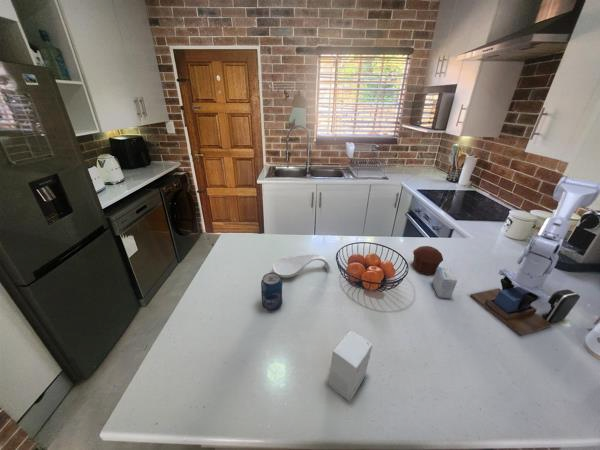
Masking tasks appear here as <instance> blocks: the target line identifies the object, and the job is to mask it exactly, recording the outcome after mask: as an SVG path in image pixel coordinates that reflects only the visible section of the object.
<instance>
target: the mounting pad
mask: <svg viewBox="0 0 600 450" xmlns="http://www.w3.org/2000/svg"><path fill="white" fill-rule="evenodd" d="M501 290H502V288H495V289H494V288H493V289H490V290H485V291H481V292H476V293H471V294H470V297H471V298H472V299H473V300H474V301H476V302H477V303H478V304H479V305H481V307H483V308H484V309H485V310H487V312H489V313H491V314H492V315H493V316H494V317H495V318H497V319H498V320H499V321H501V323H503V324H505V326H507V328H509V329H510V330H512V331H513V332H514V333H516V335H518V336H519V337H520V336H524V335H527V334H530V333H535V332H538V331H541V330H545V329H548V328H551V327H552V326H553V324H552V323H551V322H548V321H546V320H545V319H544V318H543V317H542V316H540V315H539V314H537V313H536V312H537V310H538V309H537V308H536V307H534V306H533V305H532V304H531V305H530V307H529V308H528V309H526V310H522V311H518V312H514V313H510V314H507V313H506V312H505V311H503V310H502V309H501V308H499V307H498V306H497V305H496V304H494V303H493V302H494V300H495V298H496V296H497V294H498V292H499V291H501Z"/></svg>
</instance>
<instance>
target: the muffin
mask: <svg viewBox="0 0 600 450" xmlns="http://www.w3.org/2000/svg"><path fill="white" fill-rule="evenodd" d="M412 254H413V263H412V265H413V268H414V270H416V271H417V272H419V273H420V274H424V275H433V274H434V273H436V271H437V268H438V267H440V264H441V263H442V262H443V261H444V257H443V253H441V252H440V250H439V249H437V248H435V247H434V246H430V245H422V246H421V245H420V246H419V247H417V248H415V249H414V250H413V251H412Z"/></svg>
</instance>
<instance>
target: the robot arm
mask: <svg viewBox="0 0 600 450" xmlns="http://www.w3.org/2000/svg"><path fill="white" fill-rule="evenodd" d="M553 190H554V191H553V193H552V200H554V201H556V202H557V207H556V209H555V211H554V214H553V215H552V216H551V217H548V218H546V219H545V220H544V222H543V224H542V225H541V227H540V229H539V230H538V232H537V234H536V235H534V236H533V237H532V238H531V240H530V242H529V244H528V245H526V246H524V248H523V250H522V252H521V253H520V255H519V256H518V258H517V261H516V263H517V265H518V268H517V269H516V271H515V273H514V272H512V271H510V270H508V269H507V268H500V269H499V272H498V273H497V274H498V275H500V276H503V278H501V279H500V285H501V290H505V289H510V288H515V287H520V288H523V289H525V290H527V291H528V292H529V293H525V294H523V298H522V301H521V303H520V304H519V306H518V310H523V309H524V308H525V307H526V306H528V305H529V304H530V303H531V304H533V303H534V302H536V301H538V300H540V302H542V303H548V301H549V299H550V298H551V296H552V295H550V294H548V293H546V292H545V291H544V290H543V289H542V286H543V285H544V283H545V282H546V280H547V278H548V275H551V274H552V272H553V270H554V269H555V267H556V265H557V263H558V260H559V256H560V255H559V254H558V253H559V252H560V250H561V248H562V246H563V243H564V239H565V237H566V235H567V234H568V232H569V230H570V229H571V223H570V222H569V221H570V220H571V218H572V216H573V214H574V213H575V212H576V211H577V210H578V209H580V208H584V207H585V208H586V207H587V208H588V207H590V206H591V205H592V204H593V203H594V202H595V201H596V200H597V198H598V197H599V196H600V182H598V181H593V180H586V179H580V178H574V177H569V176H566V175H564V176H562V177H561V178H560V179H559V181H558V183H557V184H556V186H555V188H554V189H553Z"/></svg>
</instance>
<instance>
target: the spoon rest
mask: <svg viewBox="0 0 600 450" xmlns="http://www.w3.org/2000/svg"><path fill="white" fill-rule="evenodd" d="M313 261H322V262H323V263H324V268H325V270H326V271H327V272H330V271H331V266H330V264H329V262H328V260H327V258H326V257H325V256H324V255H322V254H319V253H310V254H303V255H295V256H286V257H281V258H278V259H277V260H275V262H273V264H272V271H273V273H276V274H278V275H279V276H280V278H283V279H288V278H293V277H295V276H296V275H298V274H299V273H300V272H302V270H303V269H305V268H306V266H308V265H309V264H310V263H311V262H313Z"/></svg>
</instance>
